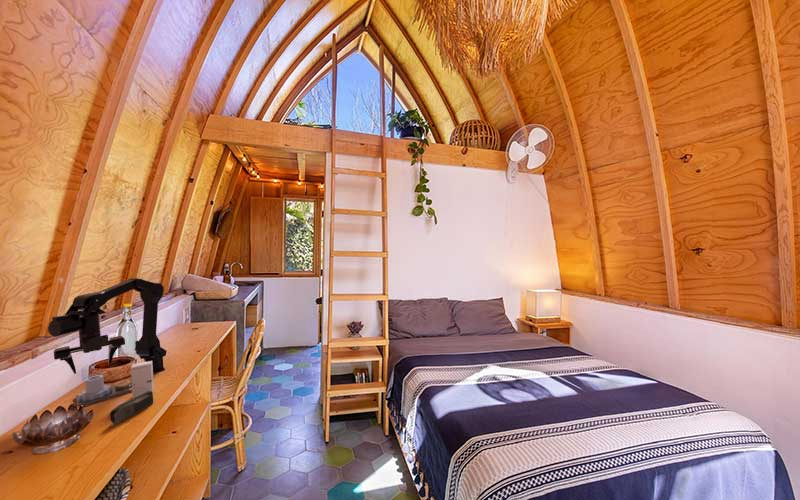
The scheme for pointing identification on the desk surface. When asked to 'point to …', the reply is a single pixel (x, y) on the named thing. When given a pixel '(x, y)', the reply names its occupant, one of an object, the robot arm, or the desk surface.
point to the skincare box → (142, 378)
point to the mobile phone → (131, 407)
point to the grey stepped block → (94, 388)
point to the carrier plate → (117, 389)
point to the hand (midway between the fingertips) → (92, 369)
